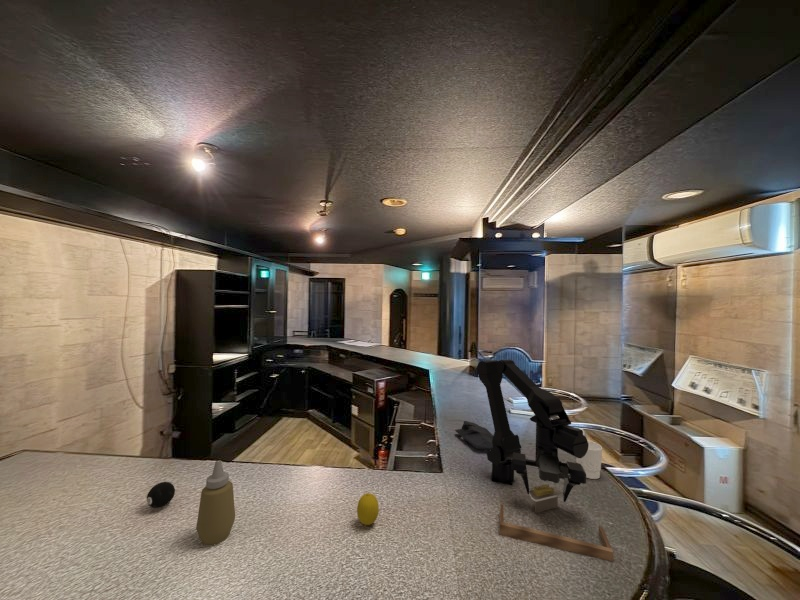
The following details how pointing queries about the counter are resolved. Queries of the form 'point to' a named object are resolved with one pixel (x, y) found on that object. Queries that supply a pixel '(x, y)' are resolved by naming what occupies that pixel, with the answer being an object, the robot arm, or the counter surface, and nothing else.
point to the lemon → (367, 509)
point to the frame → (557, 540)
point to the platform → (545, 497)
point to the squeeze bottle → (216, 507)
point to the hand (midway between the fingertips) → (545, 497)
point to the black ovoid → (160, 494)
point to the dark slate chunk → (476, 435)
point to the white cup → (592, 460)
